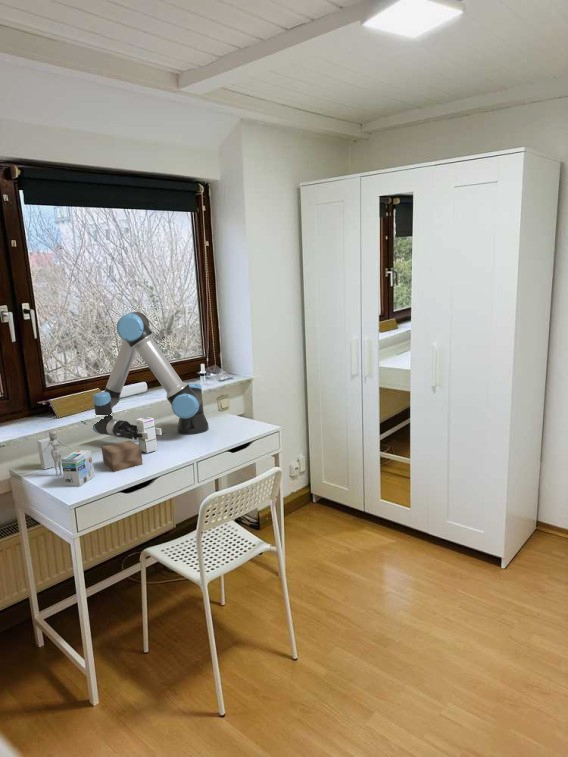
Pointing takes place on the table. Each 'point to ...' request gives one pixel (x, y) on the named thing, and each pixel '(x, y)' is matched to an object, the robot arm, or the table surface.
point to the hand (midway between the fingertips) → (154, 433)
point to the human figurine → (55, 450)
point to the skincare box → (45, 453)
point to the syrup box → (147, 426)
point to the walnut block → (122, 455)
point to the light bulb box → (78, 468)
